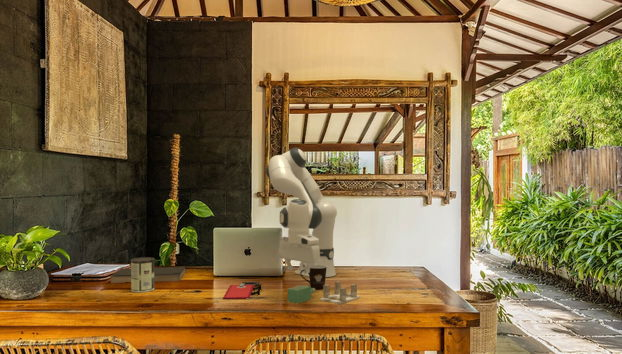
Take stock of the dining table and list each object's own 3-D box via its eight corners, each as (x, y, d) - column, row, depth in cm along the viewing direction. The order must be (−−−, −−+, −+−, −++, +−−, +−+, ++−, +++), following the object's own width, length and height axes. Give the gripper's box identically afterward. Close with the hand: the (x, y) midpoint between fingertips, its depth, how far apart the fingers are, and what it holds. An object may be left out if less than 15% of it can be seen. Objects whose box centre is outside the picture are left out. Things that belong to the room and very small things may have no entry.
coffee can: (142, 286, 225) (142, 256, 225) (159, 288, 221) (159, 258, 221) (125, 291, 216) (125, 259, 216) (142, 293, 211) (142, 261, 211)
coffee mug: (329, 286, 224) (329, 265, 224) (323, 291, 216) (323, 268, 216) (305, 285, 228) (305, 264, 228) (299, 289, 220) (299, 267, 220)
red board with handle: (263, 283, 232) (232, 284, 231) (263, 277, 232) (232, 278, 231) (258, 300, 202) (222, 301, 201) (258, 293, 202) (222, 294, 201)
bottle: (287, 302, 198) (287, 288, 198) (308, 295, 209) (308, 282, 209) (297, 304, 194) (297, 290, 194) (318, 297, 205) (318, 284, 205)
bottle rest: (320, 300, 200) (320, 286, 200) (339, 293, 211) (339, 280, 211) (340, 304, 193) (340, 289, 193) (359, 297, 204) (359, 283, 204)
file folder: (109, 275, 232) (122, 267, 256) (109, 284, 232) (122, 275, 255) (179, 273, 236) (185, 265, 260) (179, 282, 236) (185, 273, 260)
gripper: (275, 236, 204) (275, 269, 204) (312, 241, 191) (312, 275, 191) (285, 235, 209) (285, 267, 209) (322, 239, 196) (321, 273, 196)
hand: (298, 271), depth 200 cm, fingers open, 8 cm apart
